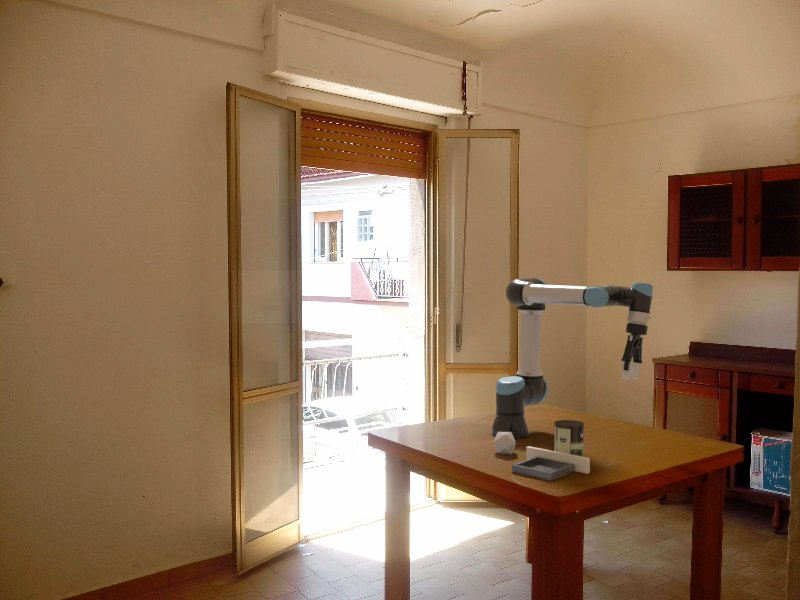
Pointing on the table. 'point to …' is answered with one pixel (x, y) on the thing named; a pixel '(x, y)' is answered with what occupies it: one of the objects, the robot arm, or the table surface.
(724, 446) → the table surface
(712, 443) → the table surface
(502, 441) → the die
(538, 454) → the board
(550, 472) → the grey square tray
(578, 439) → the coffee can
